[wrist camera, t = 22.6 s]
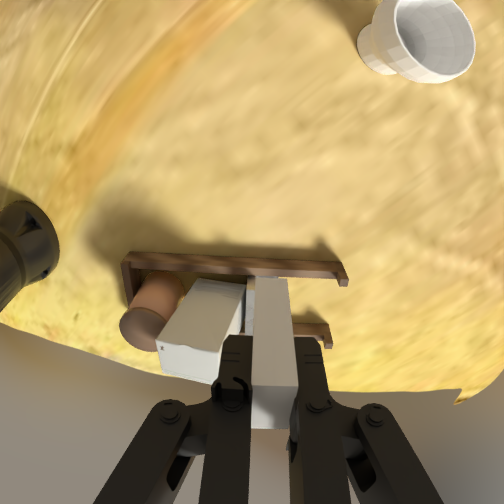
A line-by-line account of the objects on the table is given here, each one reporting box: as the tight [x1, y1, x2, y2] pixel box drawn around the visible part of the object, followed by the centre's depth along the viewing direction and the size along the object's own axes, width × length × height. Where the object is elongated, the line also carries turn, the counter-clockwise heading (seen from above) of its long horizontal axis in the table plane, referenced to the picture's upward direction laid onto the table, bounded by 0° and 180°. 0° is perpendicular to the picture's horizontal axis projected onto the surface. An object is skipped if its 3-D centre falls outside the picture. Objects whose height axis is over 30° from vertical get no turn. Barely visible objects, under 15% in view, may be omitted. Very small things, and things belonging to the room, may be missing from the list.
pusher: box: [245, 275, 278, 336], centre depth 48 cm, size 5×10×6 cm, turn 178°
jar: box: [119, 271, 184, 352], centre depth 46 cm, size 7×7×11 cm
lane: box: [121, 252, 349, 349], centre depth 49 cm, size 33×13×5 cm, turn 88°
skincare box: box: [155, 278, 247, 385], centre depth 44 cm, size 8×7×16 cm
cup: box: [357, 0, 476, 83], centre depth 27 cm, size 11×11×15 cm
